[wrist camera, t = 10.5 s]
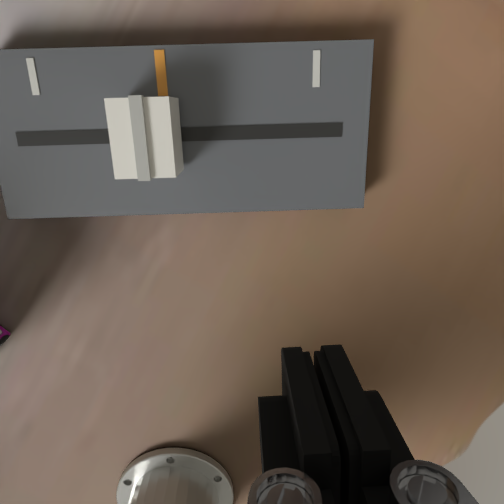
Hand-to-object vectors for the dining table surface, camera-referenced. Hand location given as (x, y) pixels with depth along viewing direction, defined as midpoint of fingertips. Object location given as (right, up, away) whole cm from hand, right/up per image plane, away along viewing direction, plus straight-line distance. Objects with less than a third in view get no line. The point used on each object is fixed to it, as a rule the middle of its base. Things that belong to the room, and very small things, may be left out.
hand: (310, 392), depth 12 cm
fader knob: (-9, +12, +19) cm, 24 cm away
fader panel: (-7, +14, +22) cm, 27 cm away
